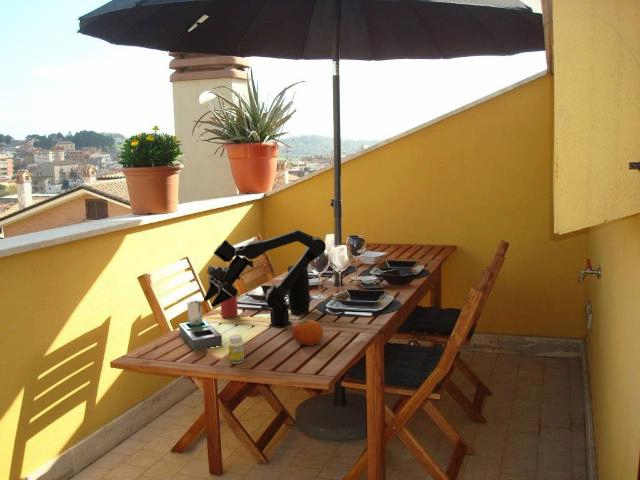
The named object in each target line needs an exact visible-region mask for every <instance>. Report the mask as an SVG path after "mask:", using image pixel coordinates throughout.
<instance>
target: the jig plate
mask: <svg viewBox="0 0 640 480" xmlns="http://www.w3.org/2000/svg"><path fill="white" fill-rule="evenodd" d="M202 320H203V326H200V327H194V328H189V321H188V322H181V323H179V324H178V326H179V327H178V329H179V335H180V336H181V338H182V339H183V340H184V341H185V343H187V345H188V344H189V345H190V346H191V347H192V348H191V347H190V346H189V347H190V348H191V350H192V351H193V350H199V351H202V350H201V349H204V350H207V349H206V348H210V349H212V348H211V347H215V348H217V347H216V346H221V347H223V339H222V334H221V333H220V332H219V331H218V330H217V329H216V328H215V327H214V326H212V325H211V323H210V322H208V321H207V320H206V319H202Z"/></svg>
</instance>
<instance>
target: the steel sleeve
mask: <svg viewBox="0 0 640 480" xmlns="http://www.w3.org/2000/svg"><path fill="white" fill-rule="evenodd" d="M186 305H187V316H188V317H187V318H188V322H189V328H194V327H200V326H203V320H204V319H203V311H202V310H203V307H202V301H201V300H198V299H197V300H190V301H187V303H186Z"/></svg>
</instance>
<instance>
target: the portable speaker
mask: <svg viewBox="0 0 640 480" xmlns="http://www.w3.org/2000/svg"><path fill="white" fill-rule="evenodd" d="M294 265H295V264H294ZM294 265H288V266H287V273H288V272H289V271H290V270H291V269H292V267H293V266H294ZM287 299H288V301H287V302H288V307H289V308H288V309H289V312H290V313H291V314H292V315H294V316H300V315H301V314H302V313H303V314H304V313H306V314H309V313H310V301H311V300H310V299H311V297H310V278H309V270H308V266H307V267H306V268H305V270H304V271H303V272H302V273H301V275H300V276H299V277H298V278H297V279H296V281H295V282H294V283H293V284H292V286H291V287H290V288H289V289H288V291H287Z"/></svg>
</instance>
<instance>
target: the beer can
mask: <svg viewBox="0 0 640 480" xmlns="http://www.w3.org/2000/svg"><path fill="white" fill-rule="evenodd" d="M234 288H236V287H235V286H234ZM231 296H232V295H231ZM237 297H238V296H237V295H236V296H235V297H233V296H232V298H230V299H228V300H226V301H224V302H222V303H220V312H221V313H220V315H221V317H222V318H224V319H232V318H235V317H237V316H238V314H239V313H238V298H237Z"/></svg>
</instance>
